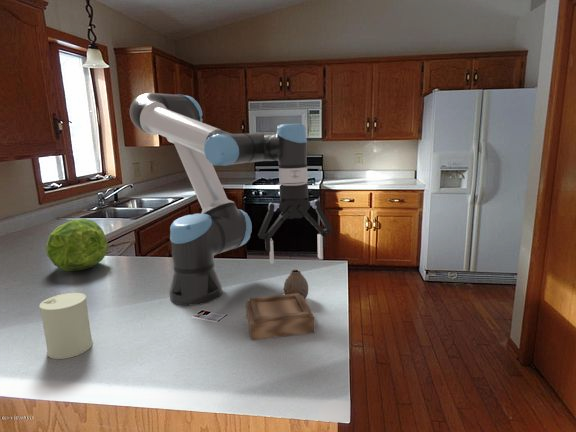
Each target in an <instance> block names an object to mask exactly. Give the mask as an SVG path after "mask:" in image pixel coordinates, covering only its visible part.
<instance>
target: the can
mask: <svg viewBox="0 0 576 432" xmlns="http://www.w3.org/2000/svg"><path fill="white" fill-rule="evenodd" d="M38 306H39V309H40V315H41V321H42V326H43V330H44V331H43V332H44V339H45V344H46V355H47V357H49V358H50V359H54V360H65V359H70V358H74V357H76V356H79V355H82V354H83V353H86V352H87V351H88V350H90V348H92V346H93V345H94V341H93V338H92V334H91V333H92V332H91V325H90V318H89V310H88V305H87V295H86V294H85V293H82V292H68V293H66V292H65V293H61V294H58V295H53V296H51V297H49V298H46V299H45V300H43V301H41V302H40V304H39V305H38Z"/></svg>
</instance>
